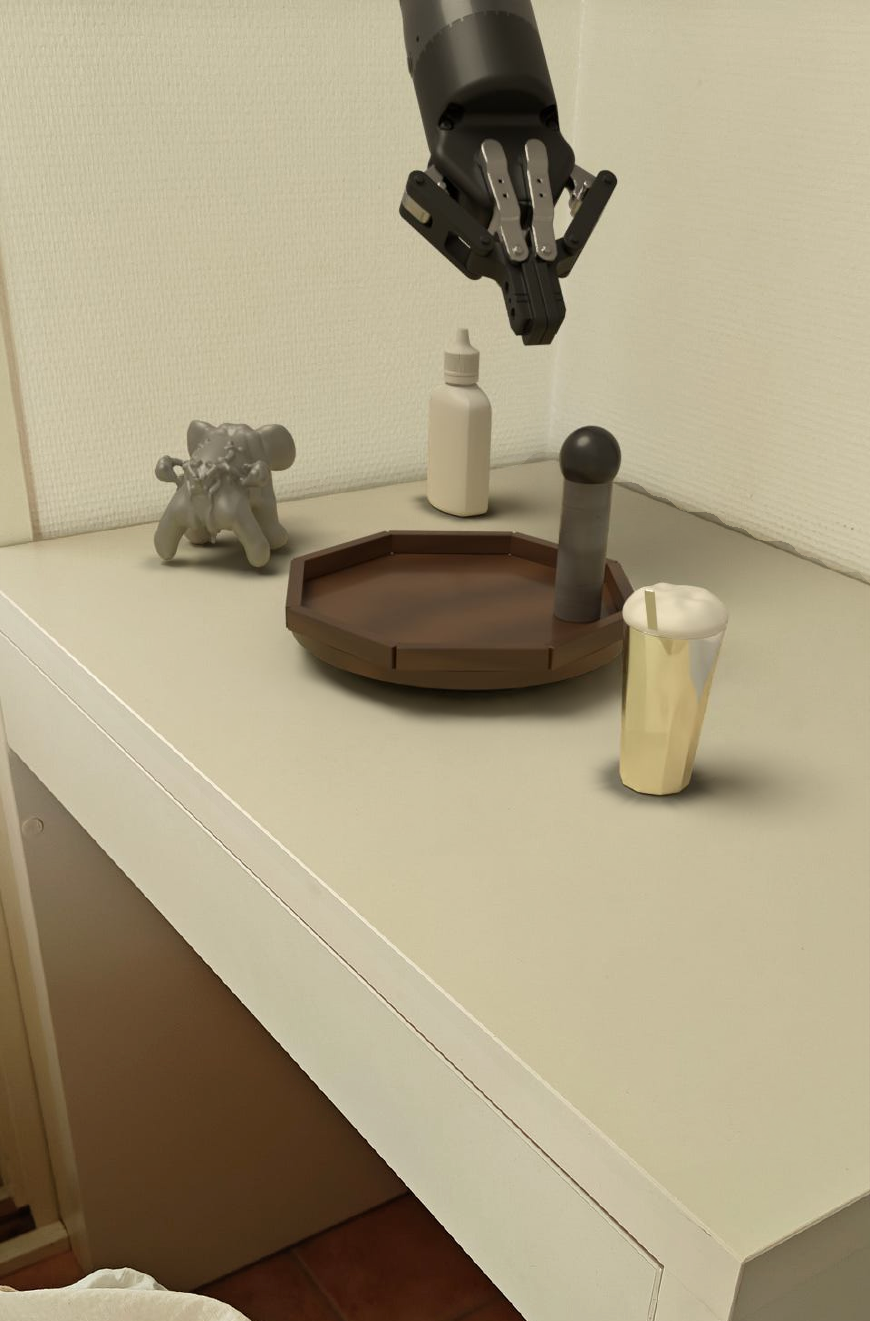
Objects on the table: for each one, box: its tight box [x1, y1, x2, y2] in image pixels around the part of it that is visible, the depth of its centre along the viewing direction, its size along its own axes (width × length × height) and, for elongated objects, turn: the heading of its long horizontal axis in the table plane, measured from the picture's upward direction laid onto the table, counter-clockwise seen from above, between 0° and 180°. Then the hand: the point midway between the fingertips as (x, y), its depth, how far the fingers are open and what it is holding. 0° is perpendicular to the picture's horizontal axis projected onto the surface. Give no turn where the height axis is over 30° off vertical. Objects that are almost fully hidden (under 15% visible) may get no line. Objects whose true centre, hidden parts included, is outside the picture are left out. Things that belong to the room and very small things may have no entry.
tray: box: [284, 425, 635, 690], centre depth 73 cm, size 19×19×11 cm
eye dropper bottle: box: [426, 327, 493, 517], centre depth 96 cm, size 4×6×12 cm
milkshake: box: [618, 582, 729, 796], centre depth 61 cm, size 4×5×10 cm
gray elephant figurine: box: [153, 419, 297, 568], centre depth 89 cm, size 9×12×8 cm
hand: (543, 336), depth 75 cm, fingers closed
